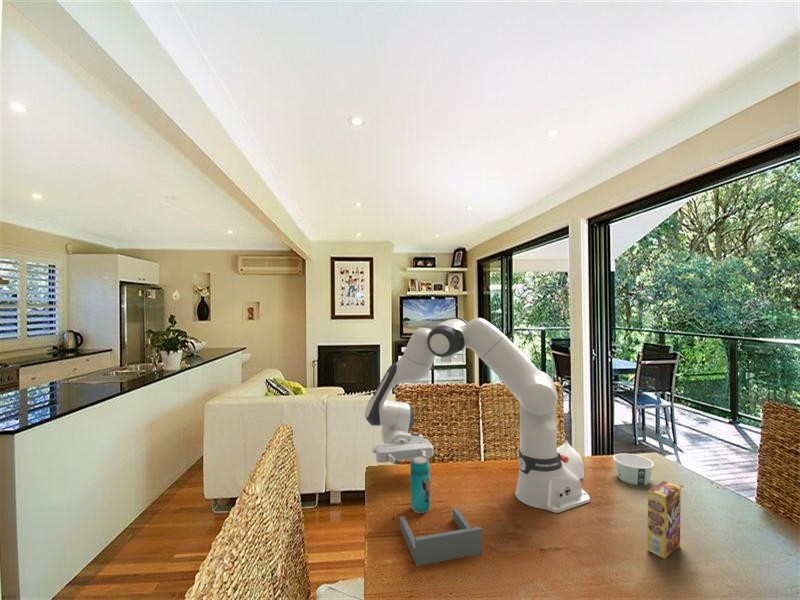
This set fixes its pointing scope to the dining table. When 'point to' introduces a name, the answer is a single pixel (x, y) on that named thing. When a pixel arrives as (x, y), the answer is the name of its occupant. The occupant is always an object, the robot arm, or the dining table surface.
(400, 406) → the robot arm
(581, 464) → the teardrop
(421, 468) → the beverage can
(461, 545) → the lane rack
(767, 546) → the dining table surface
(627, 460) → the food container
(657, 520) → the candy box
